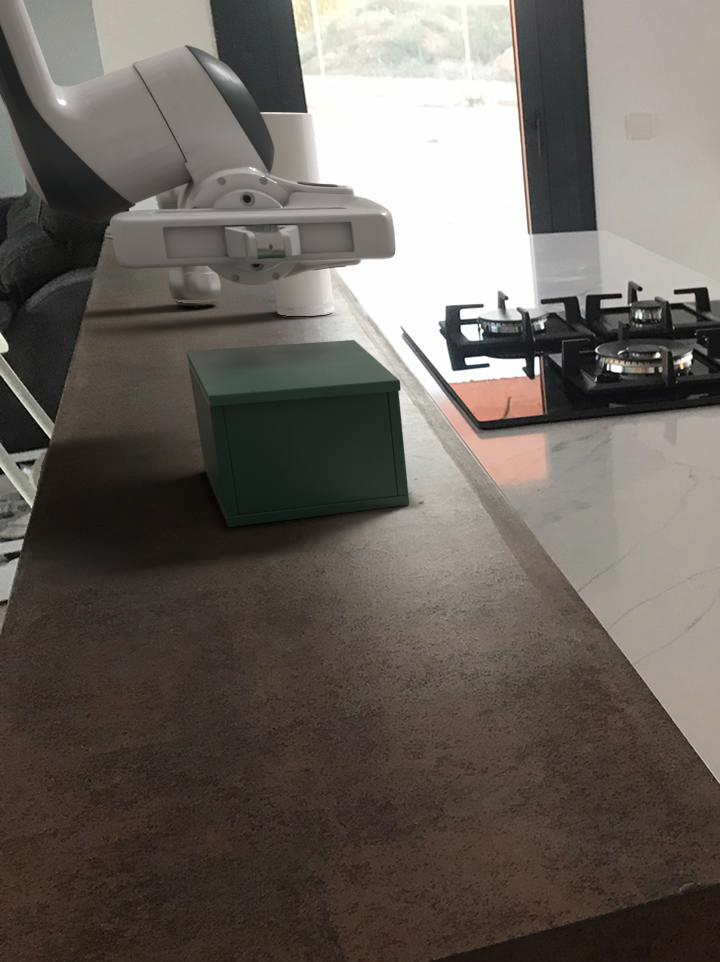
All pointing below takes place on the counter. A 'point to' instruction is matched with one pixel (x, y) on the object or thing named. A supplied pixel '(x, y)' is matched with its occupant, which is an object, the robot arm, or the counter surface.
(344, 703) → the counter surface
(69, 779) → the counter surface
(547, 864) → the counter surface
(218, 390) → the lid
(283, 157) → the cylindrical container
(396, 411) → the green open box
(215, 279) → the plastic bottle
